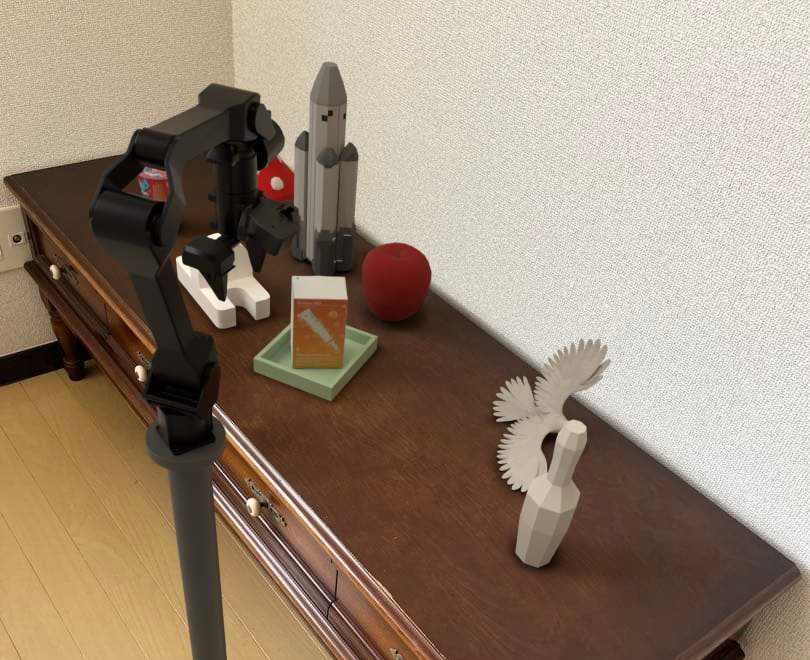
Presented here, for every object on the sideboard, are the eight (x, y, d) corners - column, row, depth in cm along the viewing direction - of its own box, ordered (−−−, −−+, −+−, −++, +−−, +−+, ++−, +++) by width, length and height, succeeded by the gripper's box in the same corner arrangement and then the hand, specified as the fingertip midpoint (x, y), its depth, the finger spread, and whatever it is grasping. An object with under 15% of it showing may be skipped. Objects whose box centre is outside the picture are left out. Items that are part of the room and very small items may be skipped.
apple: (407, 343, 136) (416, 273, 127) (345, 321, 139) (350, 251, 130) (436, 309, 145) (446, 241, 135) (377, 289, 147) (383, 221, 138)
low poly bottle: (500, 553, 106) (537, 426, 90) (526, 526, 109) (566, 400, 94) (541, 580, 103) (586, 454, 88) (566, 552, 107) (614, 427, 92)
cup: (171, 213, 159) (165, 152, 151) (197, 231, 155) (192, 170, 147) (128, 226, 154) (120, 165, 146) (154, 245, 150) (147, 183, 142)
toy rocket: (359, 270, 151) (373, 73, 127) (320, 283, 147) (328, 81, 123) (323, 242, 157) (331, 48, 133) (285, 254, 153) (286, 55, 128)
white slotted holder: (219, 330, 134) (215, 272, 126) (175, 275, 144) (170, 219, 136) (272, 315, 138) (272, 259, 131) (226, 264, 148) (223, 208, 141)
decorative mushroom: (245, 244, 154) (243, 167, 143) (218, 210, 162) (214, 135, 152) (313, 231, 160) (316, 156, 149) (284, 199, 168) (284, 126, 157)
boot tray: (331, 401, 124) (331, 388, 122) (253, 371, 127) (253, 358, 125) (376, 349, 134) (378, 336, 133) (304, 322, 138) (304, 309, 136)
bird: (472, 481, 127) (525, 510, 114) (433, 395, 120) (484, 415, 107) (575, 413, 132) (637, 433, 119) (542, 326, 125) (604, 337, 112)
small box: (291, 369, 127) (292, 298, 118) (290, 345, 132) (291, 274, 123) (343, 369, 129) (348, 298, 120) (340, 345, 133) (344, 275, 124)
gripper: (249, 231, 101) (252, 335, 112) (322, 176, 114) (319, 274, 125) (173, 205, 104) (184, 309, 115) (254, 154, 117) (256, 252, 127)
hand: (239, 285), depth 120 cm, fingers open, 9 cm apart
